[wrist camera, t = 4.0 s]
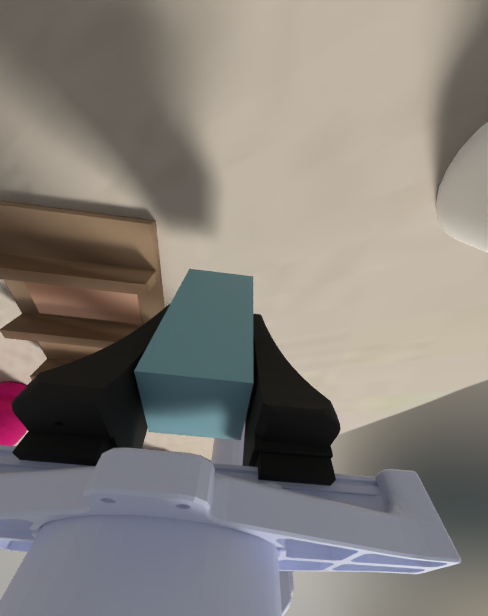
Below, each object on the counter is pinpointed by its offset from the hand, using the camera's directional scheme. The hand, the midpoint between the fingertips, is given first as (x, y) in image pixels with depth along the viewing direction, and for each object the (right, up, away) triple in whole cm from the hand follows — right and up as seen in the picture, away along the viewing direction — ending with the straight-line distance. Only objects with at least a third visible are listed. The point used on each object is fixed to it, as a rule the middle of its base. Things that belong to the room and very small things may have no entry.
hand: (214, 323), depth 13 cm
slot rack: (-14, 0, +11) cm, 17 cm away
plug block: (0, +1, +2) cm, 3 cm away
